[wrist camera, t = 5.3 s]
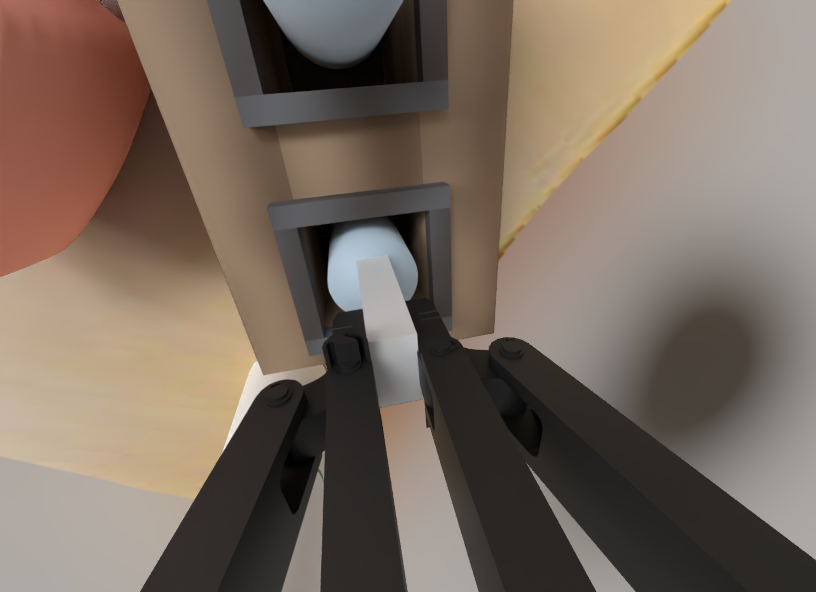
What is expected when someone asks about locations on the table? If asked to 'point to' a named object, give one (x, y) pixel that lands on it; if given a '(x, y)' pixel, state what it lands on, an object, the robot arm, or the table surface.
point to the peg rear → (365, 243)
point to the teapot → (61, 120)
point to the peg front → (334, 28)
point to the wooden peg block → (336, 157)
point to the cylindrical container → (306, 557)
